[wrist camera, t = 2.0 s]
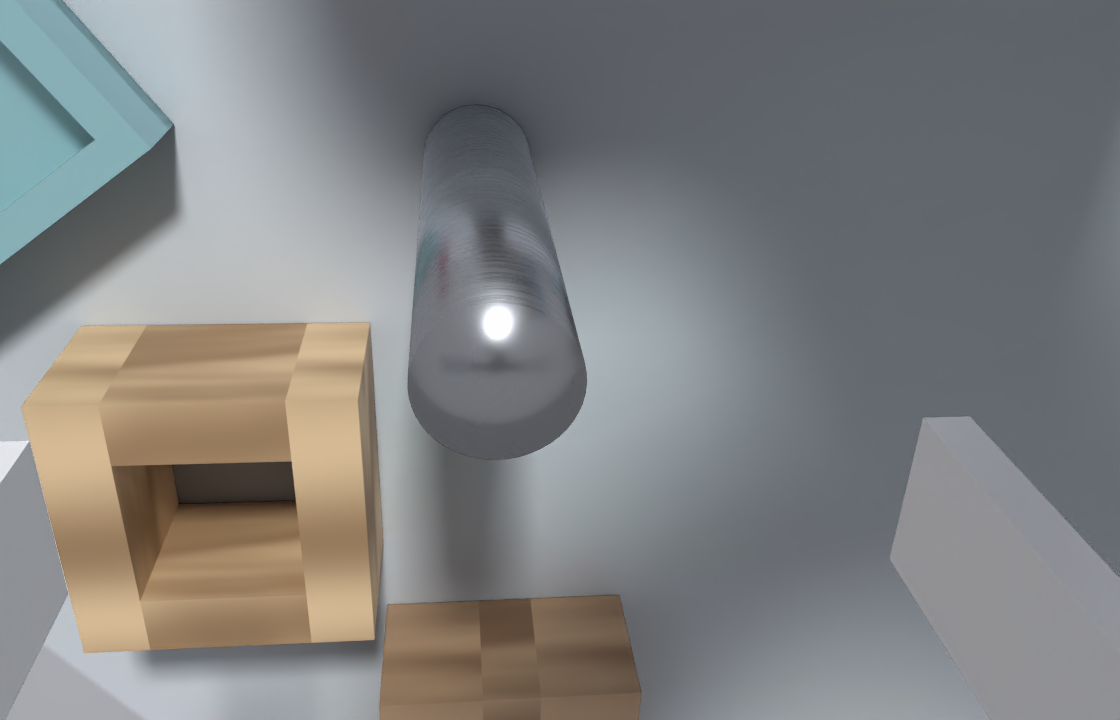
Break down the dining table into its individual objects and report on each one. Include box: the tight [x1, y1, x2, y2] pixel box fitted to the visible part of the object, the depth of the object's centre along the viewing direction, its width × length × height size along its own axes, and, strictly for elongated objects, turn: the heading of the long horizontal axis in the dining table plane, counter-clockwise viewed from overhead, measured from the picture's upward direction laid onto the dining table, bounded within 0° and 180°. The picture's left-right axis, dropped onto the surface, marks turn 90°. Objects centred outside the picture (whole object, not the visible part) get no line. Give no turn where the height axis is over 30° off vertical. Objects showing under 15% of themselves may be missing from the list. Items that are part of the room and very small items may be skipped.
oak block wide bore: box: [21, 323, 383, 653], centre depth 31 cm, size 9×9×5 cm
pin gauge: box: [408, 105, 587, 460], centre depth 24 cm, size 3×3×14 cm
